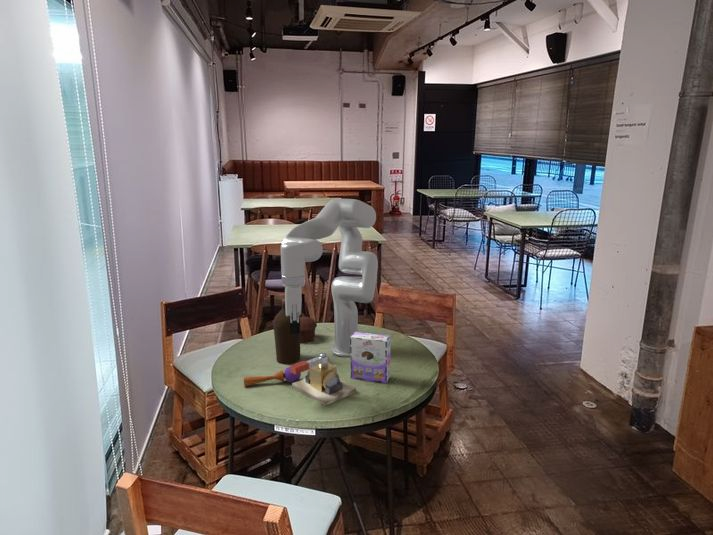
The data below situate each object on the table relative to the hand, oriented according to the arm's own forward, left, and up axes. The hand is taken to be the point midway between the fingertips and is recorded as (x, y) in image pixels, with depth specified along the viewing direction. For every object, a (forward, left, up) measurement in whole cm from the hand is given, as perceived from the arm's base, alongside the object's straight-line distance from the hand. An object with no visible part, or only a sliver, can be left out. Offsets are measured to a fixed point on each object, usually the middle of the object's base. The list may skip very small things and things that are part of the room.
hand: (294, 333), depth 164 cm
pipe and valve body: (-8, +5, -20) cm, 22 cm away
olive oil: (-14, -24, -22) cm, 35 cm away
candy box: (-26, +10, -22) cm, 35 cm away
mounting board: (-8, +5, -22) cm, 24 cm away
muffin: (-31, -36, -22) cm, 52 cm away
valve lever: (-2, +5, -13) cm, 14 cm away
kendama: (+2, -12, -22) cm, 25 cm away
